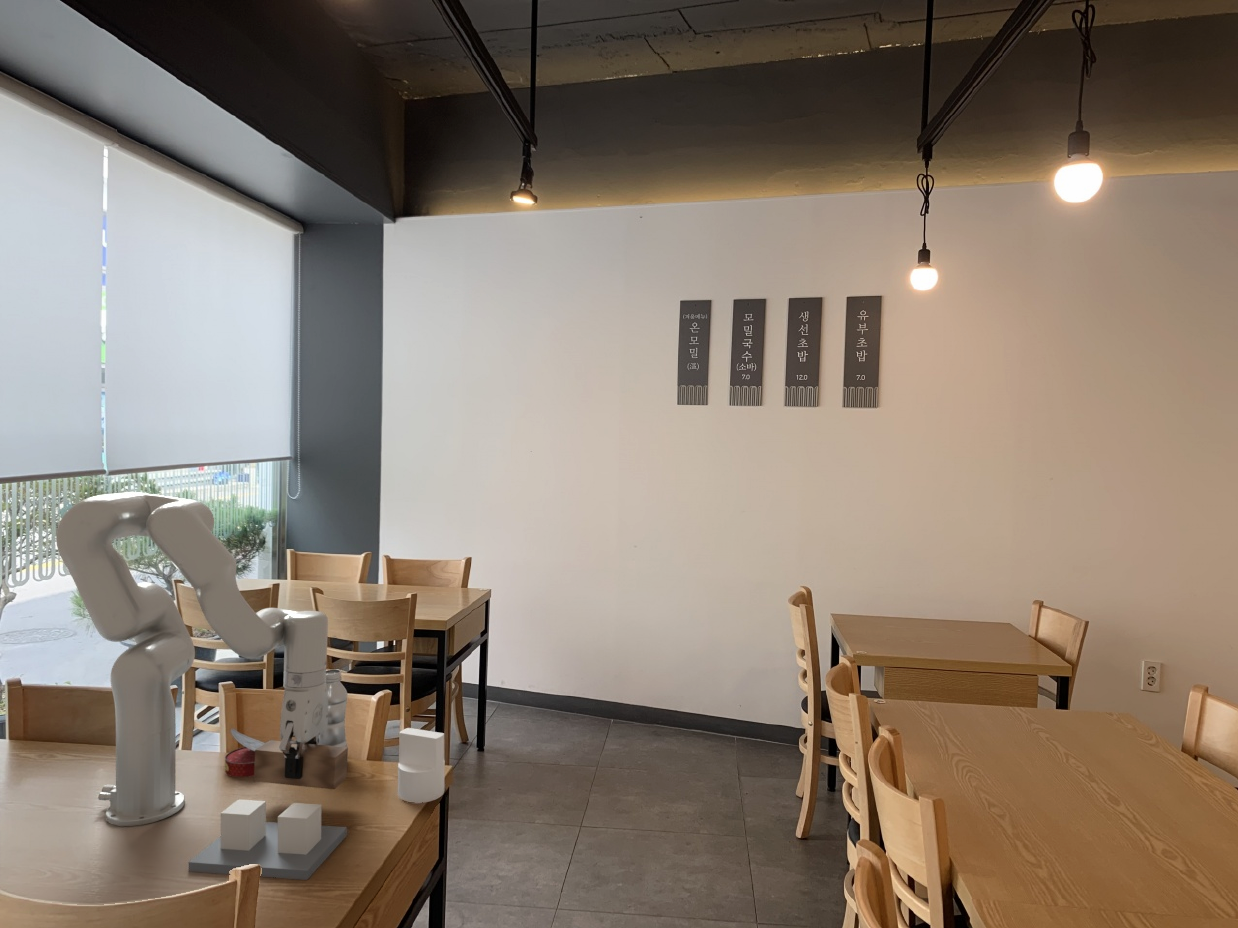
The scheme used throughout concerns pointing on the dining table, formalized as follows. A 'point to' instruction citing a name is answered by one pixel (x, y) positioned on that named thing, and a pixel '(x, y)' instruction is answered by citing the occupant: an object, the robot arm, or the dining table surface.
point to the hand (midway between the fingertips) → (301, 770)
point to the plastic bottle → (335, 711)
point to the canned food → (242, 756)
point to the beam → (318, 765)
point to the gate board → (270, 841)
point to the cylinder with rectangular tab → (421, 765)
